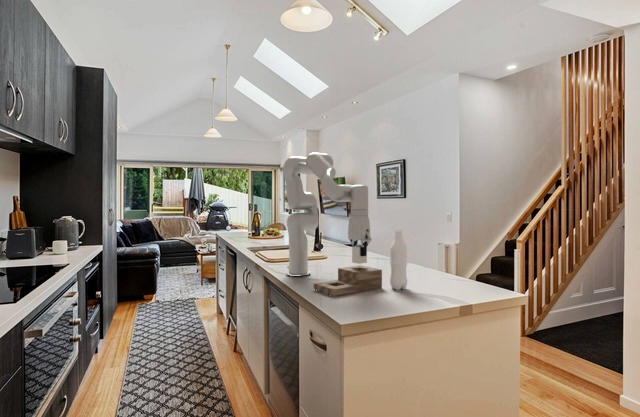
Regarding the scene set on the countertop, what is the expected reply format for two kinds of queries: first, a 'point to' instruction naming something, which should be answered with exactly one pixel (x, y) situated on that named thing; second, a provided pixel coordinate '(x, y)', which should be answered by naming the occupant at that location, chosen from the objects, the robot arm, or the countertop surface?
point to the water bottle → (398, 262)
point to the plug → (358, 255)
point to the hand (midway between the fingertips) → (359, 254)
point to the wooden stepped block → (352, 281)
